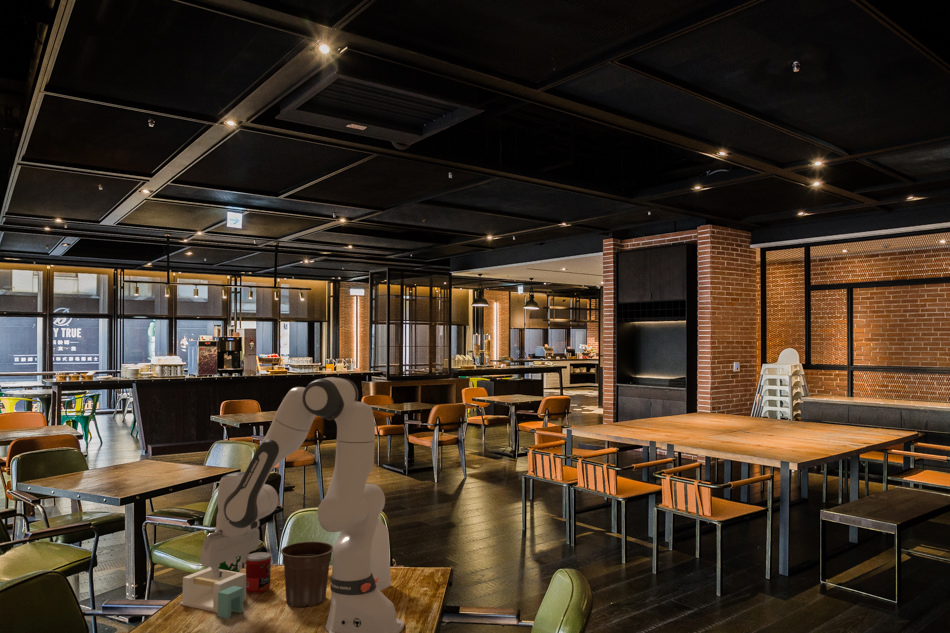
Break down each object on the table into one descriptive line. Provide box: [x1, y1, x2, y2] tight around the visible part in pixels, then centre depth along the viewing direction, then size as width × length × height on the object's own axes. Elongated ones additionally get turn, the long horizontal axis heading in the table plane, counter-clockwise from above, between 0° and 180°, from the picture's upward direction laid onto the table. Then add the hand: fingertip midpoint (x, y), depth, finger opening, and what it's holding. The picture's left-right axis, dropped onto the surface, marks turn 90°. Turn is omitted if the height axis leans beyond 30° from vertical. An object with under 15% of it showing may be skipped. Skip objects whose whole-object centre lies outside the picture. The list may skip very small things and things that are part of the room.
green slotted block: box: [217, 586, 244, 620], centre depth 191 cm, size 4×6×7 cm, turn 156°
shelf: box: [179, 567, 247, 614], centre depth 201 cm, size 16×11×8 cm
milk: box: [371, 518, 392, 592], centre depth 214 cm, size 12×12×26 cm
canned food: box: [245, 551, 272, 594], centre depth 212 cm, size 8×8×11 cm
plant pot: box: [280, 541, 334, 608], centre depth 202 cm, size 16×16×16 cm
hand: (229, 573), depth 192 cm, fingers open, 8 cm apart
